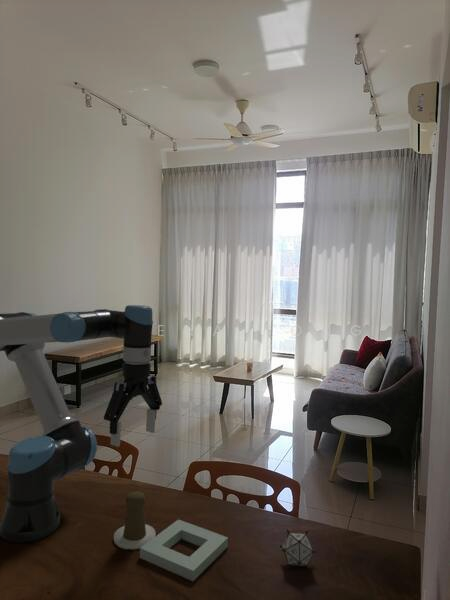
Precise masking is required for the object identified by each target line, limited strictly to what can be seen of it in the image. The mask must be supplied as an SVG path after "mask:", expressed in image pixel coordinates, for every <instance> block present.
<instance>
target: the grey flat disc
mask: <svg viewBox="0 0 450 600" xmlns="http://www.w3.org/2000/svg"><path fill="white" fill-rule="evenodd" d="M124 527H125V525H123V526H122V527H119V528H118V529H117V530H115V532H114V534H113V542H114V544H115V545H116V546H117V547H118V548H120V549H122V550H128V549H129V550H130V549H131V551H133V550H140V548H141V547H142V546H143V545H145V544H146V543H147V542H149V541H150V540H151V539H153V538H154V537H155V536H157V535H156V530H155V528H154V527H153V526H151V525H149V524H147V523H145V528H146V536H145V537H144V538H142V539H140V540H137V541H129V540H126V539H125V538H124V537H123V533H124ZM129 550H128V551H129Z"/></svg>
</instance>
